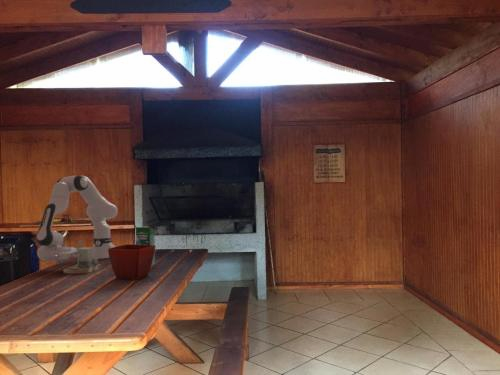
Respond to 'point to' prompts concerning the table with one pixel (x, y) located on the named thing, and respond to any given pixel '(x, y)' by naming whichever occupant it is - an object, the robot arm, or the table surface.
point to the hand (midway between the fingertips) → (84, 254)
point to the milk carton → (145, 237)
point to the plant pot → (131, 260)
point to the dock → (84, 267)
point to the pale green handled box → (84, 254)
